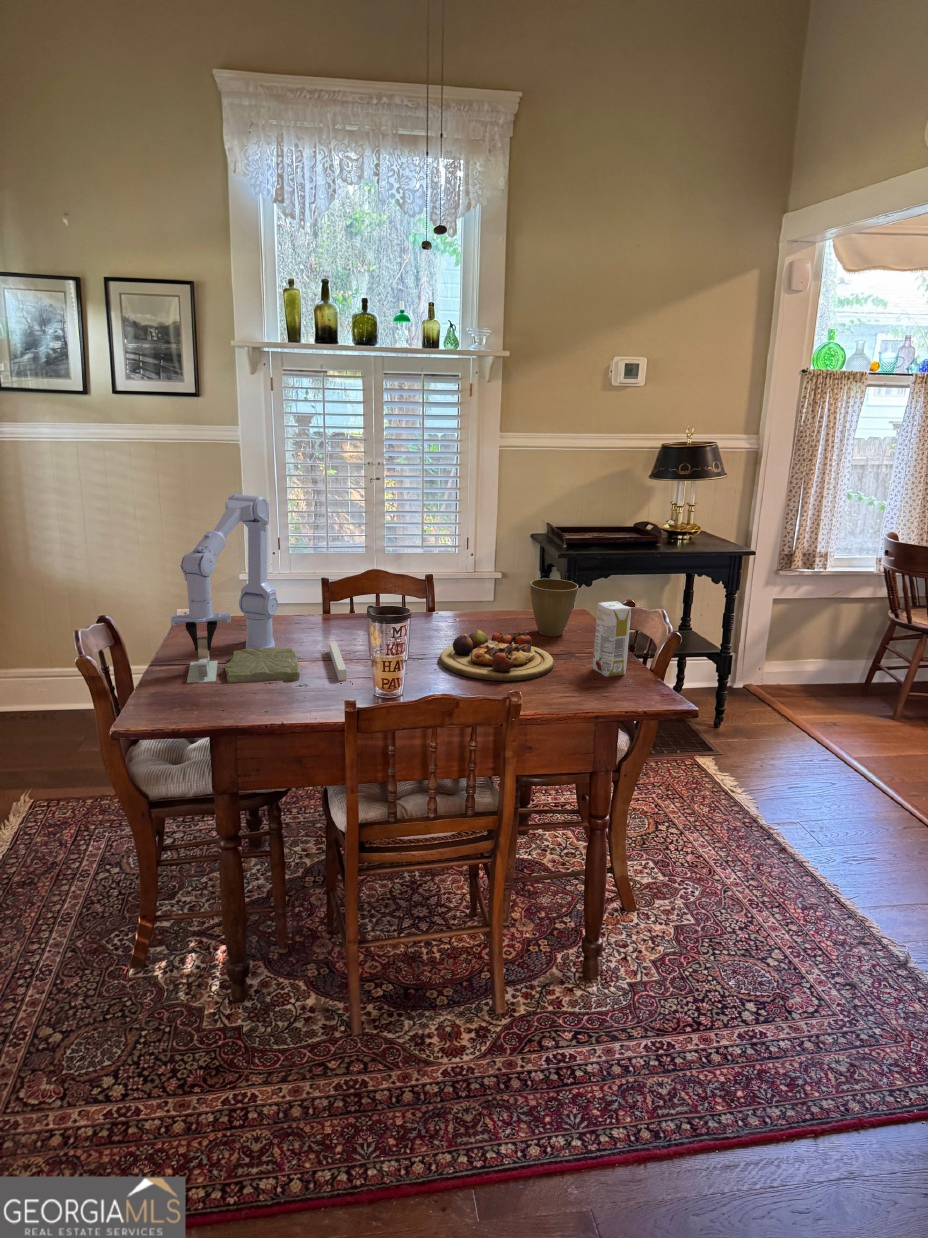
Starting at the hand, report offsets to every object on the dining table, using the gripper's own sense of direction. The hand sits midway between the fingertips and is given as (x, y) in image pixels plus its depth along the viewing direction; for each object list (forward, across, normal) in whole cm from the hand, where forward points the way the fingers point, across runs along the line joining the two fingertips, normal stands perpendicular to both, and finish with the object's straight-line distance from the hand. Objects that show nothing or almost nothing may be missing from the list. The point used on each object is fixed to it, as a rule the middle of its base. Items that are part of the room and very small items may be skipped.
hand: (203, 649), depth 211 cm
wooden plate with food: (+7, +78, -5) cm, 79 cm away
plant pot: (+7, +104, +19) cm, 105 cm away
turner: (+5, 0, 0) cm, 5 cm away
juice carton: (+7, +107, -18) cm, 108 cm away
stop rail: (+6, +35, 0) cm, 35 cm away
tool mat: (+6, 0, 0) cm, 6 cm away
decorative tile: (+7, +15, 0) cm, 16 cm away
